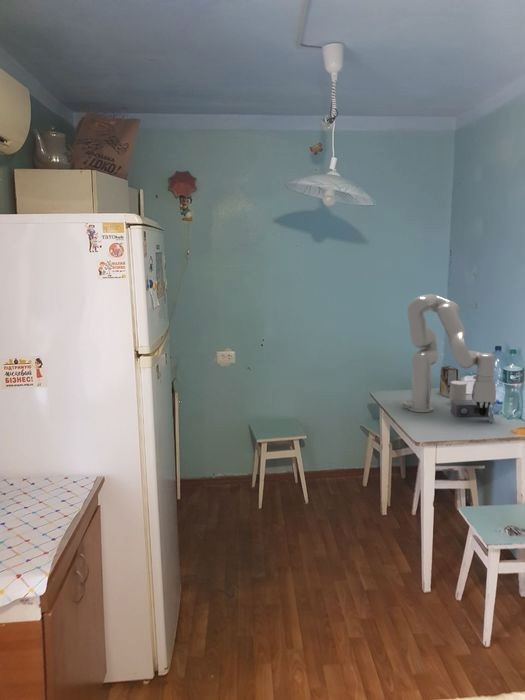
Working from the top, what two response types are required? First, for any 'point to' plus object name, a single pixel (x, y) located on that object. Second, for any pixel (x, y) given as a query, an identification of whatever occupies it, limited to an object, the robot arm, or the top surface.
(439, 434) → the top surface
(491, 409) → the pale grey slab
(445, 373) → the coffee box
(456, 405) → the camera body
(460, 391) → the cup
